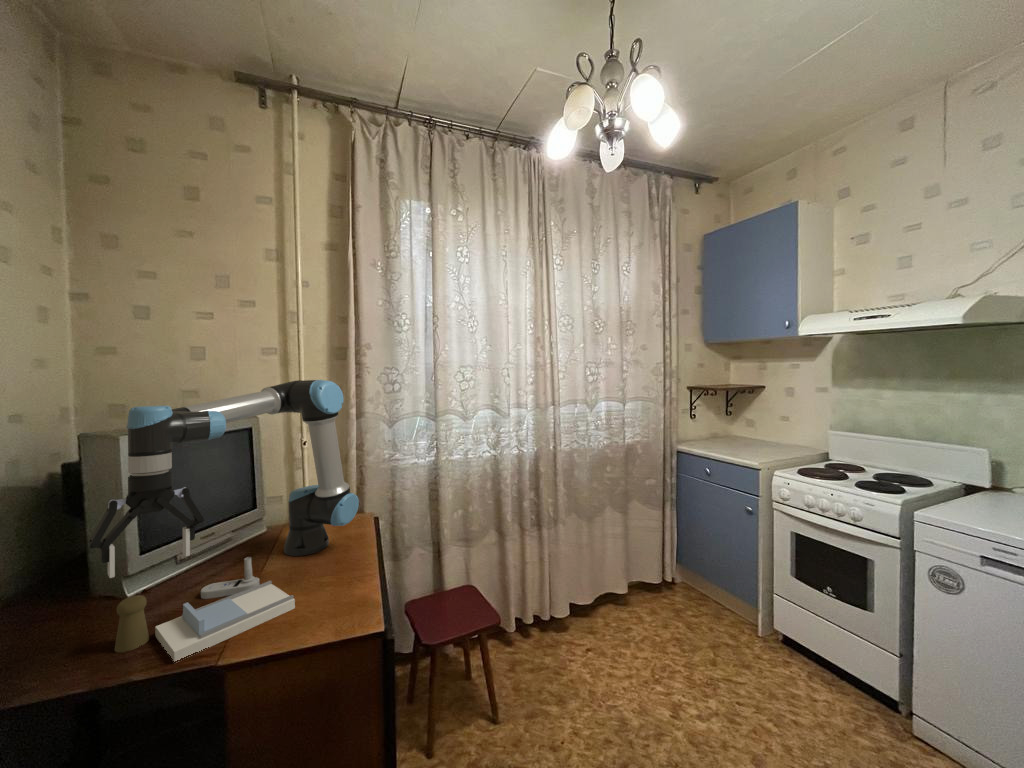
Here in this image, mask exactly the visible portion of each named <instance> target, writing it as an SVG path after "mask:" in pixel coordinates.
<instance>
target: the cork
mask: <svg viewBox="0 0 1024 768" xmlns="http://www.w3.org/2000/svg"><path fill="white" fill-rule="evenodd" d="M147 601H148V600H147V598H146V597H145V596H144V595H140V594H139V595H133V596H130V597H127V598H124V599H123V600H121V601H119V603H118V604H117V606H116V613H117V616H119V620H118V626H117V631H116V638H115V645H114V649H113V650H114V652H115V653H126V651H127V652H130V651H133V650H136V649H137V648H140V647H142V646H143V645H145V644H146V643H147V642H148V641H149V640H150V635H149V631H148V625H147V620H146V616H145V615H146V614H145V608H146V606H147V603H148V602H147ZM141 645H142V646H141ZM139 646H140V647H139Z"/></svg>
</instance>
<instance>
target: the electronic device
mask: <svg viewBox="0 0 1024 768" xmlns="http://www.w3.org/2000/svg"><path fill="white" fill-rule="evenodd" d="M243 561H244V566H243V567H244V569H243V570H244V571H243V572H244V578H241V579H239V578H238V579H233V580H226V581H220V582H214V583H209V584H208V585H205V586H204V587H203V588H201V590H200V599H201V600H211V599H216V598H223V597H224V598H225V597H229V596H231V595H234V594H237V593H239V592H242V591H244V590H247V589H250V588H252V587H255V586H257V585H260V584H261V583H260V578H259V577H257V576H256V577H255V576H254V575H253V567H252V565H253V564H252V563H253V562H252V557H251V556H247V557H245V558H243Z"/></svg>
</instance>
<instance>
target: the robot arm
mask: <svg viewBox="0 0 1024 768" xmlns="http://www.w3.org/2000/svg"><path fill="white" fill-rule="evenodd" d="M344 402H345V401H344V394H343V391H342V389H341V388H340V386H339V385H338V384H337V383H335V382H333V381H331V380H325V379H308V380H307V379H306V380H305V379H304V380H299V379H297V380H293V381H292V380H291V381H288V382H287V381H286V382H284V383H280V384H279V383H278V384H275V385H272V386H266V387H263V388H262V389H261V390H260V391H257V392H251V393H247V394H242V395H237V396H231V397H227V398H221V399H218V400H217V399H216V400H213V401H206V402H201V403H197V404H196V403H195V404H192V405H185V406H183V407H175V408H172V407H171V406H170V405H143V406H139V405H138V406H134V407H132V408H130V409H129V410H128V414H127V415H128V416H127V423H126V424H127V425H126V429H127V473H128V474H130V475H128V477H127V494H126V497H125V498H121V499H113V498H110V499H108V501H107V506H106V511H105V512H104V514H103V516H102V518H101V520H100V521H99V523H98V525H97V527H96V528H95V530H94V532H93V533H92V535H91V537H90V539H89V541H87V542H88V543H87V545H88V547H89V548H90V549H100V552H99V553H100V556H99V557H100V558H99V559H100V561H101V563H102V564H106V563H107V576H108V577H109V579H112V578H115V576H116V572H115V571H116V569H115V568H116V562H115V561H116V559H115V558H116V557H115V556H116V551H115V550H116V549H115V548H116V547H115V545H114V544H113V543H114V542H115V540H116V539H117V538H118V537H119V536H120V535H121V534H122V533H123V531H125V529H126V528H127V527H128V526H129V525H130V523H132V521H134V520H135V519H136V518H137V517H138V515H148V514H151V513H159V512H161V511H162V510H164V509H165V510H167V511H168V512H169V513H171V514H172V515H173V516H175V517H176V518H177V519H178V520H180V522H182V523H183V524H184V525H185V526H183V527H182V555H183V556H184V557H190V556H191V552H190V551H191V544H190V543H191V541H194V540H195V538H196V528H197V525H199V524H203V523H205V518H204V517H203V515H202V514H201V511H199V509H198V507H197V506H196V504H195V502H194V501H193V499H192V498H191V496H190V494H191V493H190V489H189V488H188V487H186V486H181V488H178V489H173V472H172V471H171V469H172V468H173V455H172V453H173V445H175V444H180V443H189V442H199V441H210V440H213V439H218V438H220V437H223V435H224V434H225V432H226V429H227V424H229V423H234V422H238V421H241V420H245V419H249V418H252V417H257V416H261V415H265V414H268V415H276V414H282V413H293V414H295V413H297V414H301V419H302V422H303V423H304V424H307V426H308V431H309V437H310V438H309V439H310V443H311V449H312V456H313V461H314V467H315V473H316V478H317V484H312V485H308V486H303V487H299V488H295V489H294V490H291V491H290V493H289V495H288V502H287V503H288V521H289V523H288V526H289V528H288V534H287V536H286V539H285V543H284V545H283V553H284V555H287V556H290V557H301V556H302V557H303V556H309V555H312V554H317V553H320V552H321V551H323V550H325V549H326V548H327V547H328V546H329V543H330V540H329V535H328V532H327V530H326V528H325V525H329V526H332V527H337V526H338V527H343V526H346V525H348V524H349V523H351V522H352V521H353V520H354V518H355V517H356V514H357V513H358V510H359V504H360V499H359V497H358V496H357V494H355V493H353V492H351V488H350V484H349V483H348V482H346V481H345V480H344V479H345V478H344V473H343V465H342V459H341V453H340V446H339V440H338V439H339V438H338V434H337V433H338V432H337V426H336V419H337V418H338V417H339V415H340V414H339V411H341V410H342V407H343V404H344ZM175 495H176V496H177V497H178V498H179V499H181V500H182V501H183V503H184V505H185V506H186V508H187V509H188V510H189V513H190V514H191V516H192V517H193V519H190V518H189V517H187V516H186V515H185V514H184V513H183V512H181V511H180V510H178V508H176V507H175V506H174V505H172V504H171V503H170V502H171V501H172V499H173V498H174V497H175ZM124 505H126V506H128V507H129V508H128V510H127V511H126V512H125V514H124V516H123V517H121V519H120V520H119V521H118V522H117V523H116V524H115V526H114V527H113V528H111V530H110V531H109V532H108V534H107V535H105V534H106V532H107V530H108V528H109V527H110V525H111V523H112V521H113V519H114V517H115V516H116V514H117V511H118V510H121V509H122V506H124ZM104 535H105V536H104ZM103 537H104V538H103Z"/></svg>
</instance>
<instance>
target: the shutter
mask: <svg viewBox="0 0 1024 768" xmlns="http://www.w3.org/2000/svg"><path fill="white" fill-rule="evenodd" d="M195 609H196V608H194V607H193V606H192V605H191V604H190V603H189V602H185V603H183V604H182V614H183V619H184V620H185V621H186V622H187V623H188V625H189V626H190V627H191V628H192V629H193V630H194V631H195V632H196V634H197V635H198V636H199V637H200V634H202V633H204V632H206V631H209V630H211V629H213V628H216V627H218V626H221V625H223V624H225V623H228V622H230V621H232V620H235V619H237V618H239V617H242V616H244V615H246V614H247V613H246V612H245V611H244V610H243V609H241V608H240V607H239V606H238V605H237V604H235V603H234V602H233V601H232V600H231V599H229V598H228V599H225V600H223V601H220V602H218V603H215V604H212V605H210V606H207V607H205V608H202V609H199V610H197V611H196V610H195Z"/></svg>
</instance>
